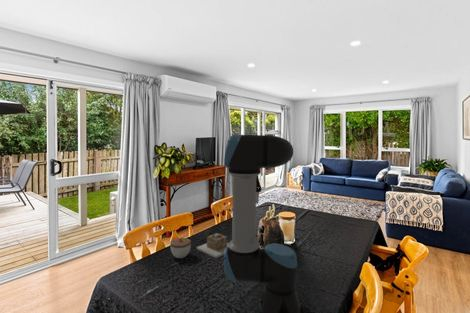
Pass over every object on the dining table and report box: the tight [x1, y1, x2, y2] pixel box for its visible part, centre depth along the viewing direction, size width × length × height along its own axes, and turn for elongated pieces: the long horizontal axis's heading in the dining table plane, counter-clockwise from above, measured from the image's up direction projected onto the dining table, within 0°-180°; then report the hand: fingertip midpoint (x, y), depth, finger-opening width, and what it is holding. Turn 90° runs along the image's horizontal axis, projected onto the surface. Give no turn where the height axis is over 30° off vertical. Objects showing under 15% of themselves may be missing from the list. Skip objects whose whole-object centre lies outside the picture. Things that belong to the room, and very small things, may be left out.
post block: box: [196, 233, 229, 259], centre depth 149 cm, size 16×16×8 cm
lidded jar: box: [169, 237, 192, 259], centre depth 140 cm, size 11×11×9 cm
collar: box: [206, 232, 228, 251], centre depth 149 cm, size 8×8×6 cm
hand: (248, 205), depth 145 cm, fingers open, 13 cm apart
